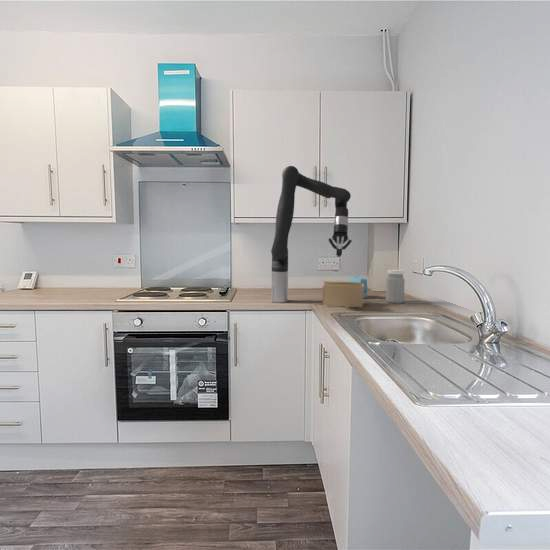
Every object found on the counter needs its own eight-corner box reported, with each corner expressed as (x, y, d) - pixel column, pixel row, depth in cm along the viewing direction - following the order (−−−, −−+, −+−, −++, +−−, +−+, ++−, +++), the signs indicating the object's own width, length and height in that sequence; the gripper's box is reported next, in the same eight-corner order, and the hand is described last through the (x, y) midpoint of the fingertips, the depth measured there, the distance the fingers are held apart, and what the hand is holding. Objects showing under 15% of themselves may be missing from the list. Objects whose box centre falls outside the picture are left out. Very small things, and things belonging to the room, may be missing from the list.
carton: (322, 305, 210) (322, 285, 209) (325, 301, 224) (325, 282, 223) (363, 307, 205) (363, 286, 204) (363, 302, 220) (364, 283, 218)
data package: (366, 298, 234) (367, 278, 233) (360, 299, 232) (360, 278, 231) (355, 295, 245) (355, 276, 244) (349, 296, 244) (349, 276, 242)
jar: (384, 303, 218) (385, 270, 216) (387, 300, 227) (388, 269, 225) (402, 304, 214) (403, 271, 212) (405, 301, 223) (405, 269, 221)
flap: (325, 285, 208) (323, 281, 198) (325, 284, 208) (323, 280, 199) (361, 286, 204) (361, 282, 194) (361, 285, 204) (361, 281, 194)
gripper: (329, 222, 212) (326, 253, 209) (353, 224, 211) (352, 255, 207) (328, 227, 220) (326, 257, 216) (352, 228, 218) (350, 259, 215)
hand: (338, 256), depth 212 cm, fingers closed
